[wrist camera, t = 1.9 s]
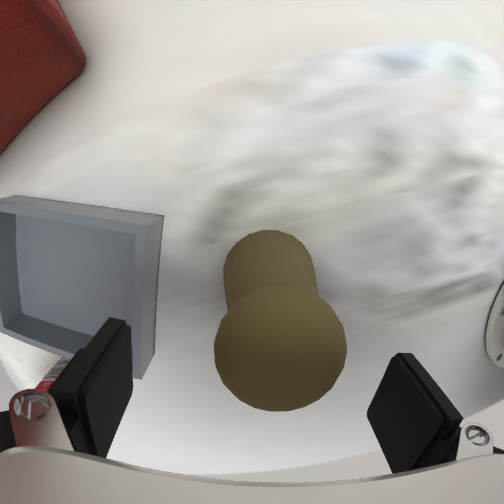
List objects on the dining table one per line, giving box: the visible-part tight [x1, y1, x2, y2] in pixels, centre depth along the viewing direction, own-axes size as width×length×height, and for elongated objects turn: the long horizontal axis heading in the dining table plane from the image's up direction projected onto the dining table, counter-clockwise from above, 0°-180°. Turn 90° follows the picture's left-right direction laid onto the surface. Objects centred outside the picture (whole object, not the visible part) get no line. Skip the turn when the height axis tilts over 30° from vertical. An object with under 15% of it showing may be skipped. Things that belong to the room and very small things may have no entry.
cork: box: [214, 230, 347, 411], centre depth 16 cm, size 6×6×11 cm
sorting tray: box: [0, 196, 164, 380], centre depth 19 cm, size 13×11×4 cm
